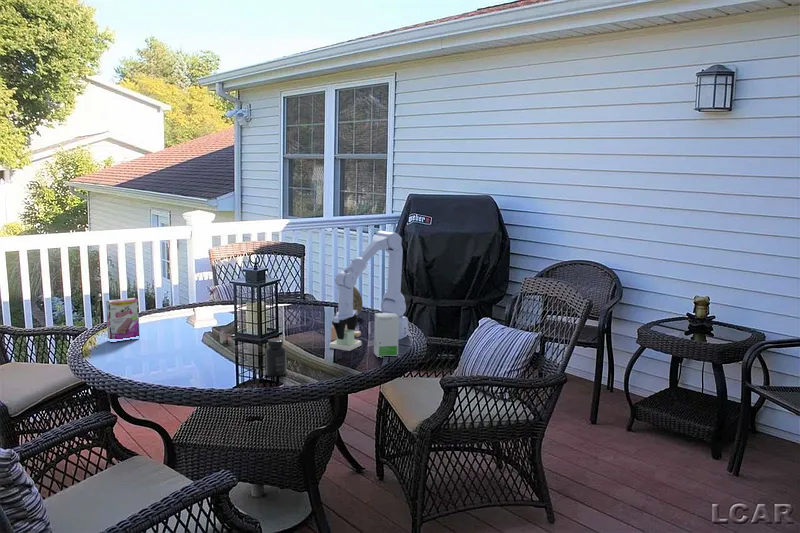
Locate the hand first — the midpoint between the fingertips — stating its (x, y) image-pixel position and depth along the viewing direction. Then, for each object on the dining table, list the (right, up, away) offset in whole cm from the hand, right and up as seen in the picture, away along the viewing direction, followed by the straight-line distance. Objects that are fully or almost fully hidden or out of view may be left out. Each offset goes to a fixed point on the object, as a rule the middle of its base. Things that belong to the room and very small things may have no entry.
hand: (345, 336), depth 255 cm
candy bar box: (-89, -2, +5) cm, 89 cm away
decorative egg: (-2, +4, +48) cm, 48 cm away
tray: (0, -4, +1) cm, 4 cm away
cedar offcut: (+2, -2, +17) cm, 17 cm away
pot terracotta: (-4, -2, +11) cm, 12 cm away
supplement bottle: (-21, -9, -33) cm, 40 cm away
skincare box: (+16, -6, -10) cm, 20 cm away
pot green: (0, -3, +1) cm, 3 cm away
